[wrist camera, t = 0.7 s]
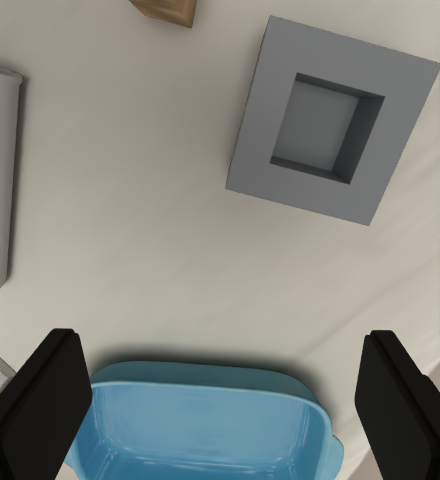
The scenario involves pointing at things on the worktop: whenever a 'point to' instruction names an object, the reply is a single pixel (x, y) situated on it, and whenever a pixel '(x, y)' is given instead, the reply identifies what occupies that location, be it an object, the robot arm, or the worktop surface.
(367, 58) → the socket
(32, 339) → the worktop surface
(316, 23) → the worktop surface
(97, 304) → the worktop surface
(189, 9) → the peg
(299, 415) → the casserole dish
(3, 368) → the skyscraper
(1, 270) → the tube
